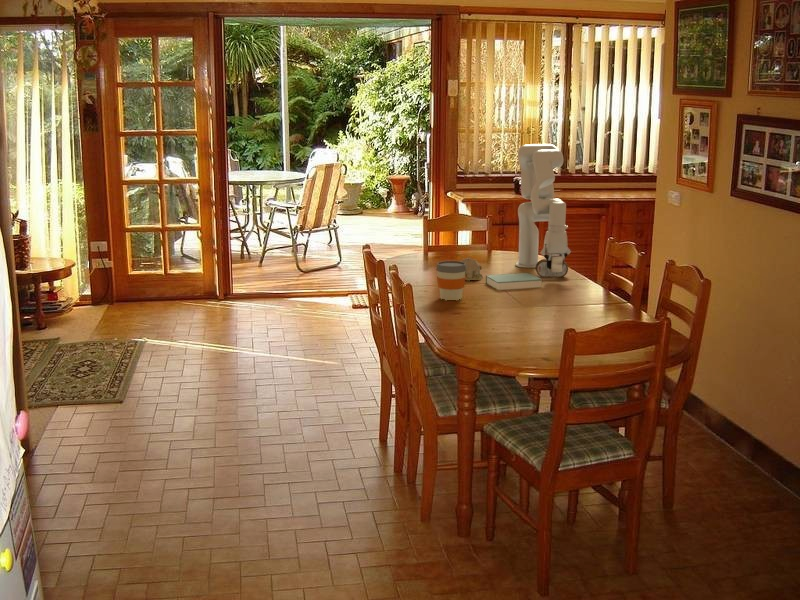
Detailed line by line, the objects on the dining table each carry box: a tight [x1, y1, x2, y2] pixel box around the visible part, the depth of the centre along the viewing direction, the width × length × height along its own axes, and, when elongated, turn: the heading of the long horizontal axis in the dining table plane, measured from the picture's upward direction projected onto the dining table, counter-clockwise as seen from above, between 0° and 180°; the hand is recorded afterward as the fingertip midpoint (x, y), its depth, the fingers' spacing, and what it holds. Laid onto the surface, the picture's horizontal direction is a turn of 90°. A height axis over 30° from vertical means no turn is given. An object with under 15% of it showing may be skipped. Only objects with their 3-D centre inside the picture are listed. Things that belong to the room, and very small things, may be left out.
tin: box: [535, 258, 569, 278], centre depth 436 cm, size 15×3×8 cm, turn 84°
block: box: [548, 254, 563, 272], centre depth 425 cm, size 5×5×7 cm
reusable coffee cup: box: [436, 260, 466, 301], centre depth 393 cm, size 13×12×15 cm
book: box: [485, 272, 543, 291], centre depth 419 cm, size 15×21×4 cm
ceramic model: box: [460, 256, 483, 281], centre depth 434 cm, size 14×11×10 cm
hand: (554, 267), depth 425 cm, fingers closed on block, 5 cm apart
